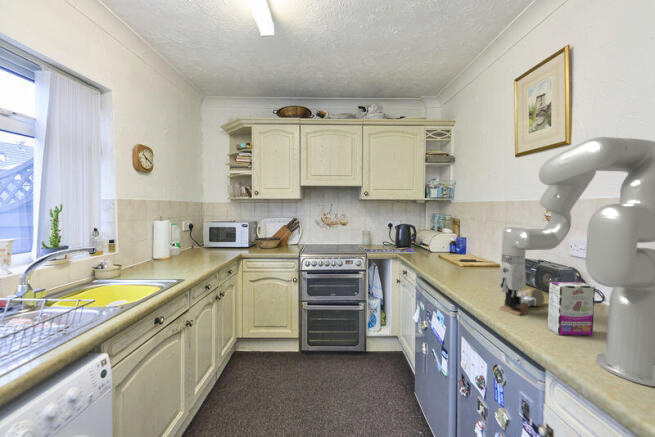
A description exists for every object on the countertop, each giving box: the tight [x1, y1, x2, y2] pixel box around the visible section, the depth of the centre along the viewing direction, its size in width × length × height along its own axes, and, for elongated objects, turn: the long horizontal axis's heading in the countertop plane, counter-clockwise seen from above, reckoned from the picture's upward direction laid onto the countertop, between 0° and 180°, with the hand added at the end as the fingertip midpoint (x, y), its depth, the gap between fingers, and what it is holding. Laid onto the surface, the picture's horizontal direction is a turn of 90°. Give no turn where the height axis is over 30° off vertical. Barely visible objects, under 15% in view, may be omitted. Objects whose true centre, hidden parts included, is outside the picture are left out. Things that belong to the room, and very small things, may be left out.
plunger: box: [510, 294, 537, 309], centre depth 107 cm, size 11×5×5 cm, turn 117°
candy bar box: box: [547, 281, 596, 337], centre depth 87 cm, size 11×5×16 cm, turn 90°
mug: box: [517, 288, 545, 307], centre depth 113 cm, size 8×10×10 cm
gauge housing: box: [499, 301, 529, 317], centre depth 104 cm, size 6×7×4 cm
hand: (510, 305), depth 103 cm, fingers closed
